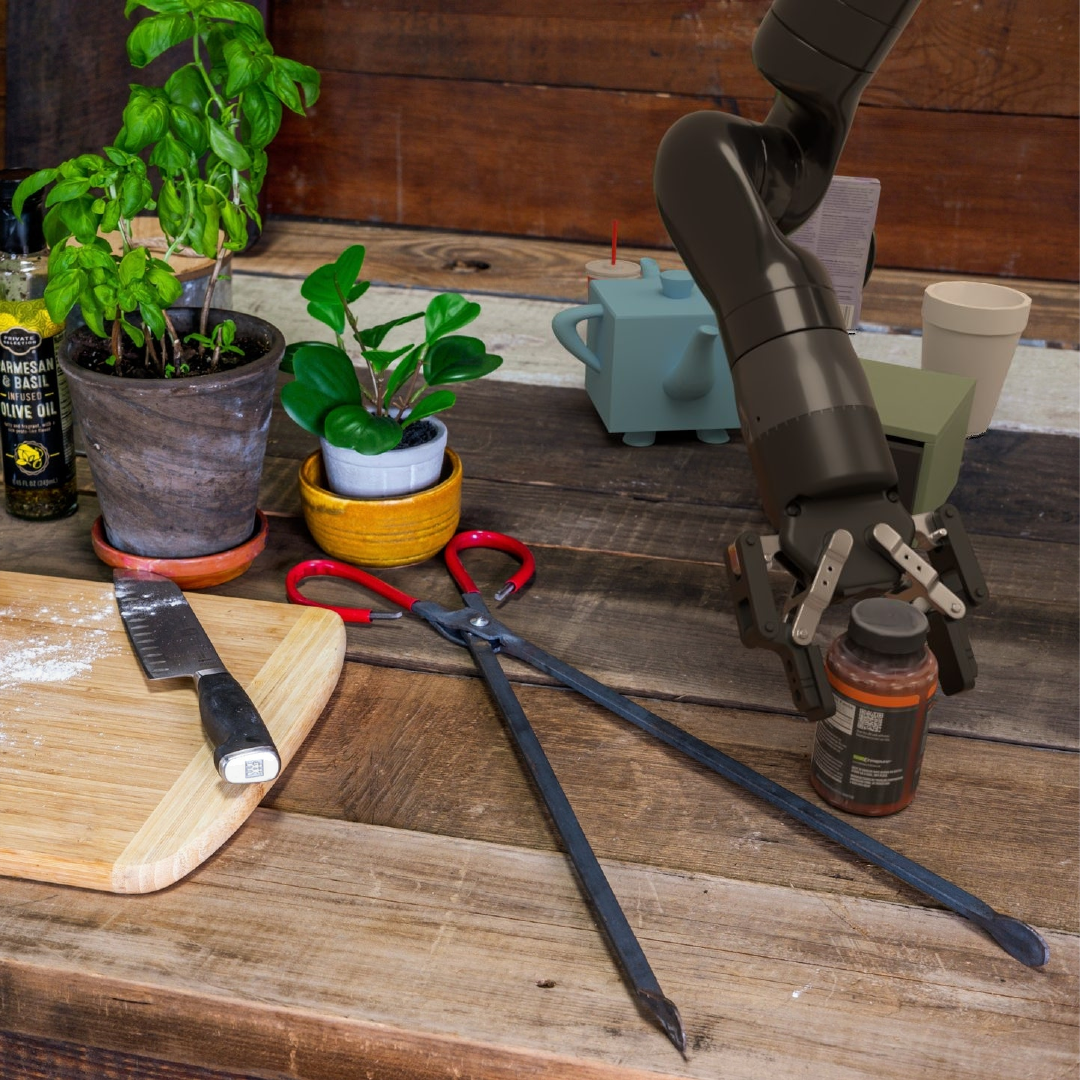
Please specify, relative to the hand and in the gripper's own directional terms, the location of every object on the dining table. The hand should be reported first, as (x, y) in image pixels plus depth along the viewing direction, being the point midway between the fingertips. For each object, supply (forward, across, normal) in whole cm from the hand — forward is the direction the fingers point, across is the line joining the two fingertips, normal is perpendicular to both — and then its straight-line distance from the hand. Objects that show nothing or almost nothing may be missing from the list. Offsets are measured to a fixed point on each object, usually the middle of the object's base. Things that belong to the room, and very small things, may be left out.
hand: (893, 705), depth 67 cm
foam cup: (-29, +39, +38) cm, 62 cm away
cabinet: (-21, +21, +30) cm, 42 cm away
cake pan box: (-53, +39, +62) cm, 91 cm away
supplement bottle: (+4, 0, +6) cm, 7 cm away
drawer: (-19, +18, +27) cm, 37 cm away
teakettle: (-34, +13, +44) cm, 57 cm away
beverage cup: (-51, +16, +61) cm, 81 cm away
